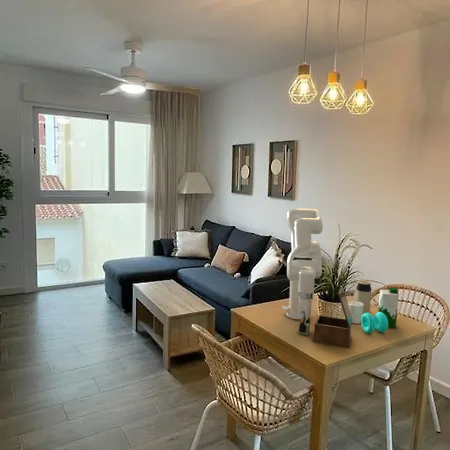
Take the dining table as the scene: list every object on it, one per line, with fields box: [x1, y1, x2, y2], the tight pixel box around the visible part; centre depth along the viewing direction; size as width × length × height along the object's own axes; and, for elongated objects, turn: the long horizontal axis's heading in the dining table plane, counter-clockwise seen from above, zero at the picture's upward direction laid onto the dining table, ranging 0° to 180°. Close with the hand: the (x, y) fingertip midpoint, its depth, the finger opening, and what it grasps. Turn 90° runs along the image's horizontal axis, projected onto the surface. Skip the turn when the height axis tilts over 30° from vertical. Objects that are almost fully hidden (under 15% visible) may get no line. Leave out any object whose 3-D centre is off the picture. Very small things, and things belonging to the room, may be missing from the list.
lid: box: [337, 286, 356, 328], centre depth 181 cm, size 16×13×6 cm
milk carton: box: [377, 287, 400, 329], centre depth 204 cm, size 9×9×20 cm
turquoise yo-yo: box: [360, 311, 389, 334], centre depth 195 cm, size 10×10×10 cm
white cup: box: [347, 300, 364, 325], centre depth 209 cm, size 8×8×10 cm
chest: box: [313, 314, 353, 348], centre depth 185 cm, size 16×13×9 cm
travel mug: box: [355, 279, 372, 315], centre depth 223 cm, size 8×8×18 cm
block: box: [298, 322, 311, 336], centre depth 193 cm, size 4×4×4 cm
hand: (304, 328), depth 192 cm, fingers open, 9 cm apart
